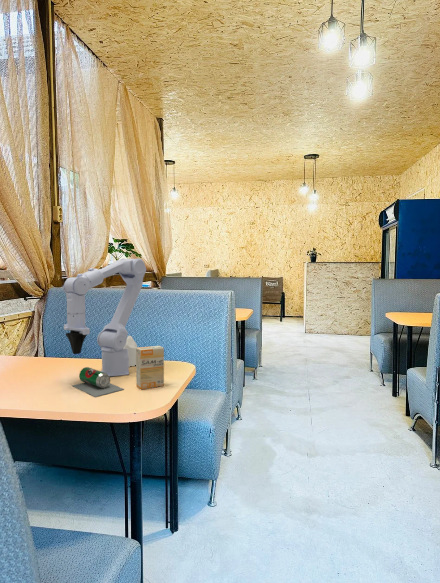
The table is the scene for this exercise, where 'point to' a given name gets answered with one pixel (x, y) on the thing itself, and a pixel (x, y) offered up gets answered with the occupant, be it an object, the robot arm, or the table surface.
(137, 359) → the supplement box
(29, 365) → the table surface
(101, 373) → the soda can
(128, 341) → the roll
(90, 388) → the mat
